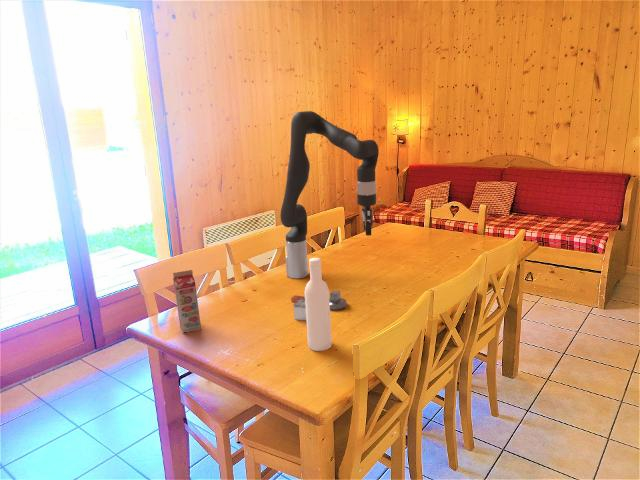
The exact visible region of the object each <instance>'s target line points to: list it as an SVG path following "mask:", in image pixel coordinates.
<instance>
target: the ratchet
mask: <svg viewBox="0 0 640 480" xmlns="http://www.w3.org/2000/svg"><path fill="white" fill-rule="evenodd" d="M300 299H305V296H303V295H301V296H300V295H293V296H292V297H291V301H290V302H291V303H296V302H297V301H298V300H300ZM329 301H330V312H331V311H332V312H336V311H337V312H339V311H343V310H344V309H346V308H347V306H348V305H347V300H346V299H345V298H343V297H341V291H340V290H332V291H330V292H329Z"/></svg>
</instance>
